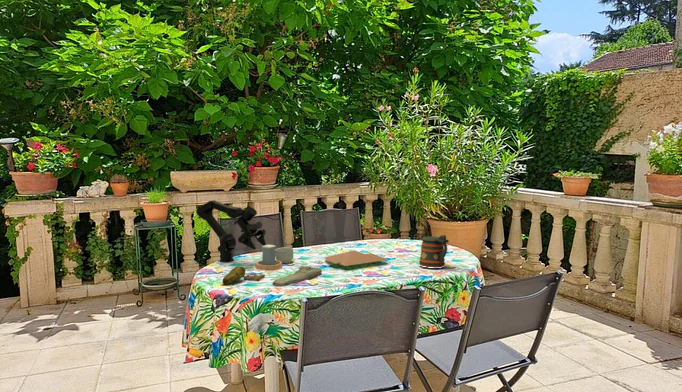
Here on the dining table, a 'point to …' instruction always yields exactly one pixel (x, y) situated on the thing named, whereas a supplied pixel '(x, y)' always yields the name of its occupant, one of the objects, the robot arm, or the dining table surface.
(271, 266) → the tan polygonal ring
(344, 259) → the brown flat block
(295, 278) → the long grey stone
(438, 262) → the beer stein
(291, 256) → the teacup
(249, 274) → the parts tray
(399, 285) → the dining table surface
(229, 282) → the potato
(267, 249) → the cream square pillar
